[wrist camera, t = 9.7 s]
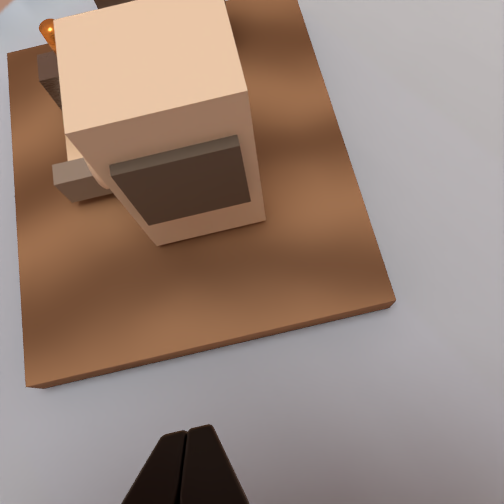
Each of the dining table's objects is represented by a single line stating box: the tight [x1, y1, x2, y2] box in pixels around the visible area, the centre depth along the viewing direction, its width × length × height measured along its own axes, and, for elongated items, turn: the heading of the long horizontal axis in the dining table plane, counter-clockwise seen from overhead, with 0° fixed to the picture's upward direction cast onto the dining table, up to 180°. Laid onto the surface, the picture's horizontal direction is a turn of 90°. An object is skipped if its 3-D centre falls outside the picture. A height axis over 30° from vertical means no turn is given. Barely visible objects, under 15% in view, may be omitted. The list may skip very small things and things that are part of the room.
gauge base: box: [7, 0, 396, 389], centre depth 21 cm, size 18×16×8 cm
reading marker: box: [37, 19, 62, 110], centre depth 22 cm, size 2×3×4 cm, turn 102°
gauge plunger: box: [52, 0, 266, 246], centre depth 17 cm, size 4×8×9 cm, turn 102°
